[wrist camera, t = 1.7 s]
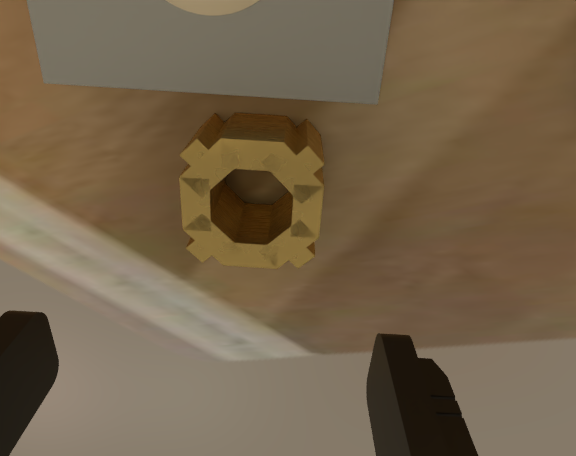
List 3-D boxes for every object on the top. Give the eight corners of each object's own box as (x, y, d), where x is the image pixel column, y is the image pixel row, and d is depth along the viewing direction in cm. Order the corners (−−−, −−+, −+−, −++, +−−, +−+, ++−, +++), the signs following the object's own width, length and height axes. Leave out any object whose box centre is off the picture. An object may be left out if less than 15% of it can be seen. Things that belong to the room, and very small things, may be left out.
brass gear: (323, 118, 20) (328, 145, 16) (312, 228, 23) (315, 271, 19) (198, 110, 20) (176, 135, 16) (203, 221, 23) (185, 263, 19)
